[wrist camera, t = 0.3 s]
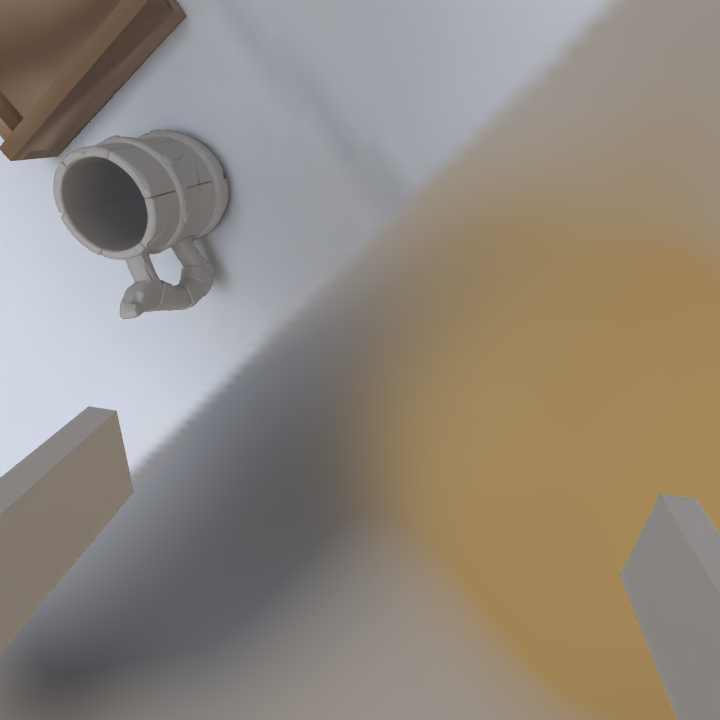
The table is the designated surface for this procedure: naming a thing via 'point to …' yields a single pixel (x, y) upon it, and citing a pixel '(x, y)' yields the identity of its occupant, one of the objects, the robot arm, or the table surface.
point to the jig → (69, 64)
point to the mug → (145, 210)
